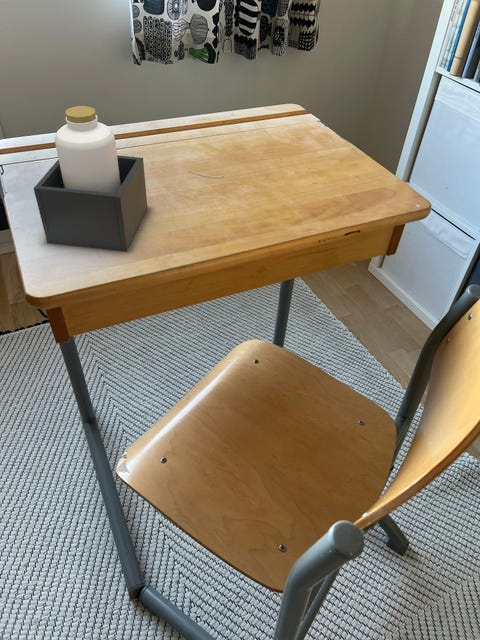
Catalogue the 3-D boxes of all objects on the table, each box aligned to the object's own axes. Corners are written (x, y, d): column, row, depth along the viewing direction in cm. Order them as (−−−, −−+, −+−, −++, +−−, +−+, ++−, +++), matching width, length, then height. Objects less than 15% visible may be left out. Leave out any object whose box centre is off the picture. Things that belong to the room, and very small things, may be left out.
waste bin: (47, 245, 79) (33, 188, 73) (76, 204, 88) (65, 150, 82) (127, 254, 78) (120, 196, 72) (148, 211, 88) (143, 157, 81)
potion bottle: (129, 211, 86) (116, 101, 74) (119, 239, 80) (103, 124, 68) (80, 208, 86) (59, 98, 74) (66, 236, 80) (40, 121, 68)
